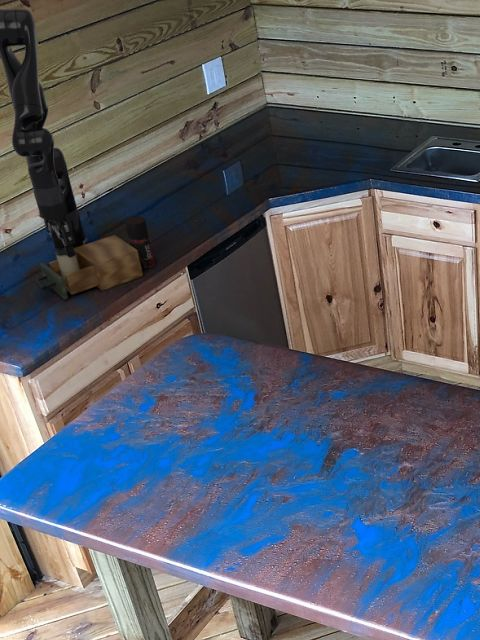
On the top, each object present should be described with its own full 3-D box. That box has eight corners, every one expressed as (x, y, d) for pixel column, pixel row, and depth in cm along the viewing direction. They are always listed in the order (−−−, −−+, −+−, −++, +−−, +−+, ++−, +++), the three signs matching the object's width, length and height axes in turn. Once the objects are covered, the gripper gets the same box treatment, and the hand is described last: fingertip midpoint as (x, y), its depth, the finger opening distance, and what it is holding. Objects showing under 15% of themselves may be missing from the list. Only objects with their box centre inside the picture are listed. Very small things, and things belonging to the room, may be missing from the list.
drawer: (50, 304, 267) (43, 283, 263) (31, 288, 275) (24, 268, 271) (104, 285, 276) (98, 265, 272) (84, 270, 284) (78, 250, 280)
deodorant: (149, 269, 286) (139, 225, 277) (132, 268, 287) (121, 223, 278) (158, 261, 290) (148, 217, 281) (140, 260, 291) (130, 215, 282)
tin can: (61, 281, 276) (51, 251, 270) (78, 275, 279) (69, 245, 273) (68, 287, 273) (59, 257, 267) (86, 281, 276) (77, 251, 270)
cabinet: (101, 290, 275) (94, 264, 270) (80, 274, 284) (72, 248, 279) (143, 275, 283) (137, 249, 277) (121, 260, 291) (114, 234, 286)
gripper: (73, 202, 258) (88, 255, 268) (52, 189, 266) (67, 241, 276) (48, 210, 254) (63, 263, 264) (27, 196, 262) (43, 248, 272)
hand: (65, 252), depth 270 cm, fingers open, 8 cm apart
